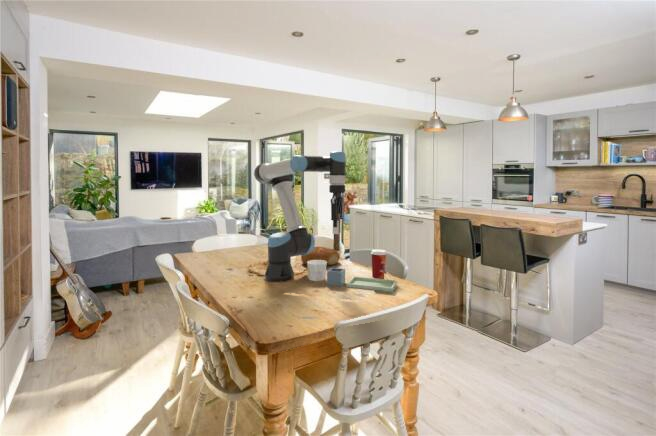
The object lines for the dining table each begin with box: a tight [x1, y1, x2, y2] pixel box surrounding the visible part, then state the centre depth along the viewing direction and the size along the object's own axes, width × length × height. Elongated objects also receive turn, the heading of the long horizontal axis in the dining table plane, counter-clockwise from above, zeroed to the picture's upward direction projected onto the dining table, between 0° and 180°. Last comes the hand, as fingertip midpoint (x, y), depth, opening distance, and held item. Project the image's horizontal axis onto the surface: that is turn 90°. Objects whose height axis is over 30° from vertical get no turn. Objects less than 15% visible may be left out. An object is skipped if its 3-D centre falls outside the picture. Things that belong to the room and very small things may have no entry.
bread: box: [300, 246, 341, 267], centre depth 239 cm, size 23×23×10 cm
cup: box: [306, 260, 327, 282], centre depth 201 cm, size 10×10×10 cm
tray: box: [345, 276, 398, 294], centre depth 191 cm, size 22×14×2 cm, turn 72°
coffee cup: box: [370, 248, 388, 279], centre depth 206 cm, size 8×8×15 cm
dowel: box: [332, 213, 341, 252], centre depth 190 cm, size 3×3×18 cm
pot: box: [326, 267, 346, 287], centre depth 192 cm, size 7×7×8 cm
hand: (336, 233), depth 190 cm, fingers closed on dowel, 3 cm apart
